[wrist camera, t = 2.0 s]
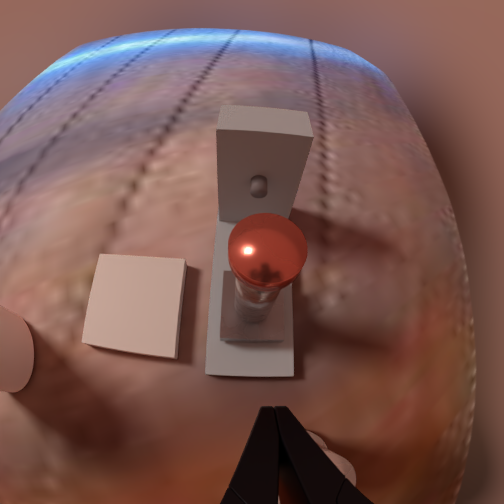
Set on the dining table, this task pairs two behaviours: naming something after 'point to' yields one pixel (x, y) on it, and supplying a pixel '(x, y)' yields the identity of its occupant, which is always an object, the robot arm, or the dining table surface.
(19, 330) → the beige cylinder
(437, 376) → the dining table surface
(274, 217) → the ball-topped lever
